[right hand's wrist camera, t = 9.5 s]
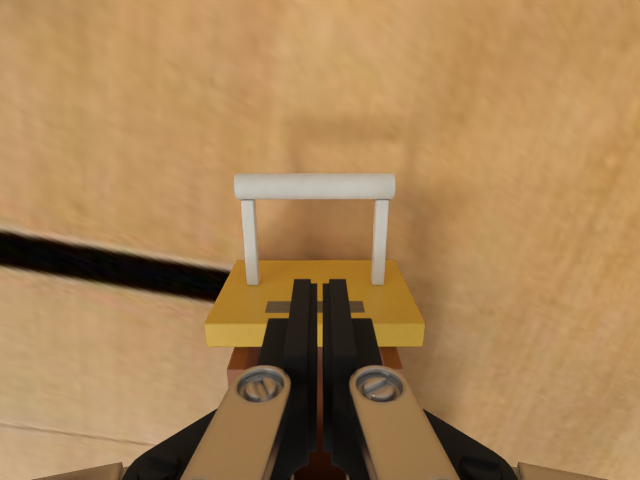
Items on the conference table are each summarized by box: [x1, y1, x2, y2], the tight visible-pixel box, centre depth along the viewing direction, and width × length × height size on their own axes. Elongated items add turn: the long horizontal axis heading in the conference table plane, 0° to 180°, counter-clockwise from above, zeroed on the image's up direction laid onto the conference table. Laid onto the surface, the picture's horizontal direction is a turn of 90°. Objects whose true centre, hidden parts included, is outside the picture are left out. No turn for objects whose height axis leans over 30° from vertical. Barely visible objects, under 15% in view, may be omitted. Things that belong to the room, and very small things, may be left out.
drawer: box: [204, 173, 425, 480], centre depth 22 cm, size 26×9×7 cm, turn 0°
